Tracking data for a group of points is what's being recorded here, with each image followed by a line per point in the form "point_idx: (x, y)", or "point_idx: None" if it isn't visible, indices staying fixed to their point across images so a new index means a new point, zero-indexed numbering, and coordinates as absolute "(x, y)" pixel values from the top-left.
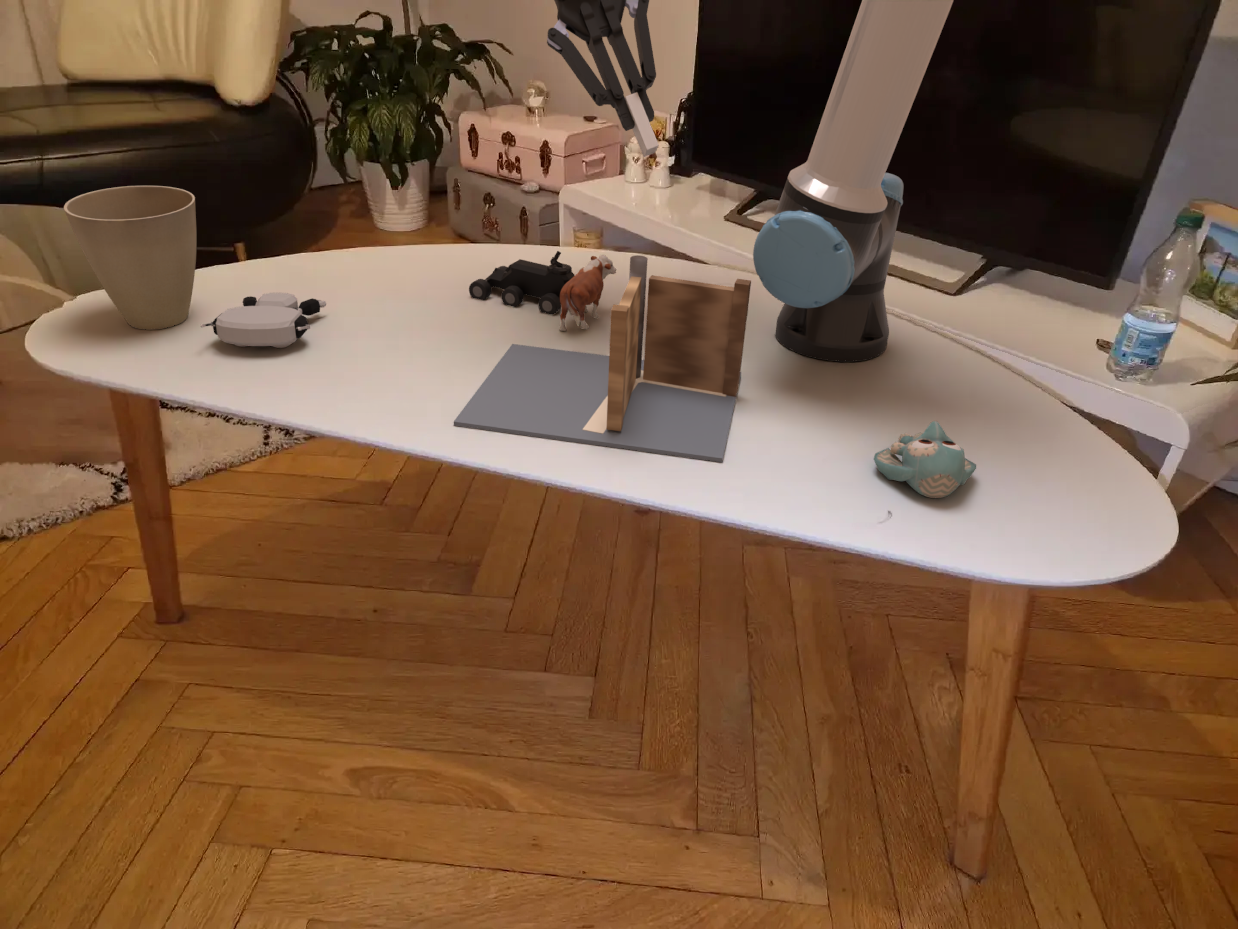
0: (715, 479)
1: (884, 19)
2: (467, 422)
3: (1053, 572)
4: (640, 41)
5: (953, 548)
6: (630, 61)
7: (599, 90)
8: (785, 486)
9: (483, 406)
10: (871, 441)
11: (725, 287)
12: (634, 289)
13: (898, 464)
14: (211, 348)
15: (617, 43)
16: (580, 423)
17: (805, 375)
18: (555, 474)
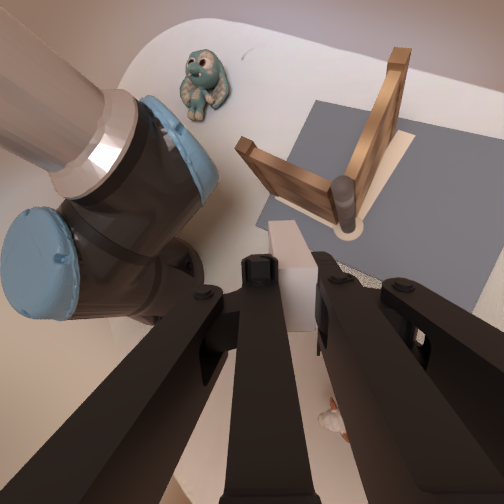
0: (327, 82)
1: None
2: None
3: (198, 21)
4: (150, 405)
5: (229, 32)
6: (258, 333)
7: (415, 290)
8: (287, 78)
9: None
10: (214, 130)
11: (259, 156)
12: (361, 139)
13: (215, 94)
14: None
15: (297, 426)
16: (415, 145)
17: (210, 221)
18: (448, 80)
